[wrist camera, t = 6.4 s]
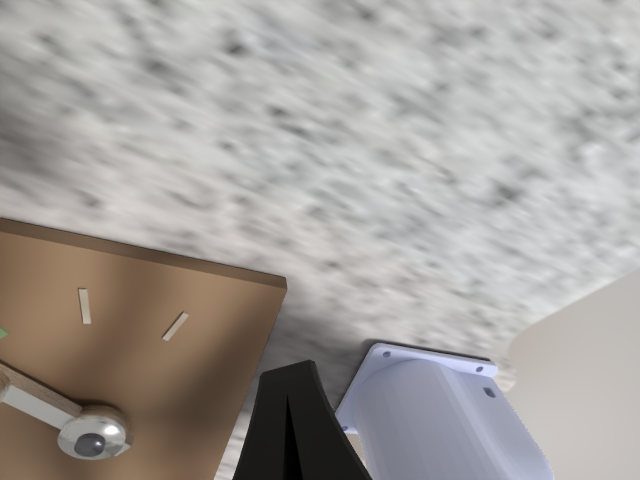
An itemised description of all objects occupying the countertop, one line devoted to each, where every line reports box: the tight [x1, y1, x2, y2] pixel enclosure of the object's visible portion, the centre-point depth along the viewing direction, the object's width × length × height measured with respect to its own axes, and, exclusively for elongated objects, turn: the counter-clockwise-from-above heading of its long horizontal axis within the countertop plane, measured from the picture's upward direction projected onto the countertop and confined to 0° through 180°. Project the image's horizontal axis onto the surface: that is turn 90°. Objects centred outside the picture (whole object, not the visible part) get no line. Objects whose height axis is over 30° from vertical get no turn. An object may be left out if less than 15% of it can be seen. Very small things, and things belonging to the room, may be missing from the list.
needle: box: [0, 364, 135, 460], centre depth 17 cm, size 11×3×5 cm, turn 35°
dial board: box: [0, 218, 287, 480], centre depth 21 cm, size 16×18×1 cm
